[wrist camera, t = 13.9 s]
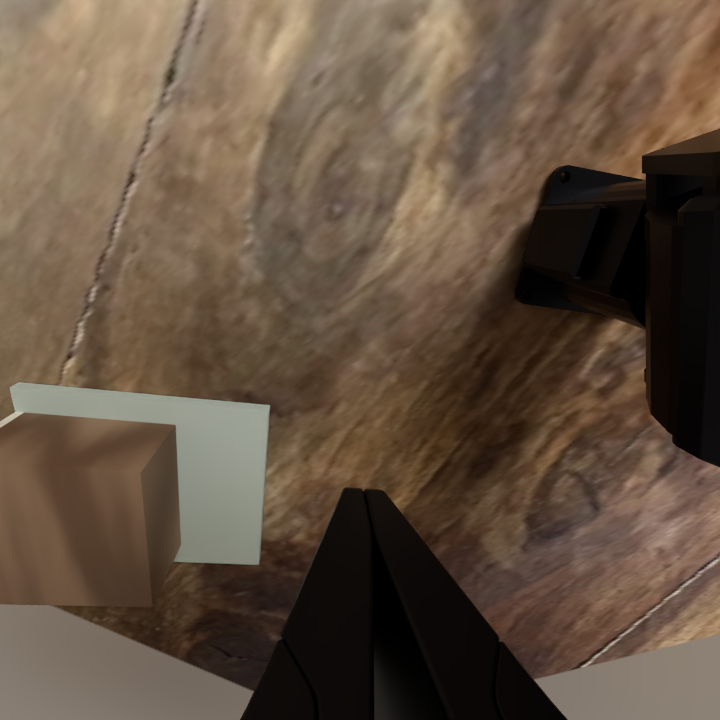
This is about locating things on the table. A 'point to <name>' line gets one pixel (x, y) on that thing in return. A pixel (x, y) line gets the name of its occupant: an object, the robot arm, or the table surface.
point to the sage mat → (189, 460)
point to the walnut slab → (86, 510)
